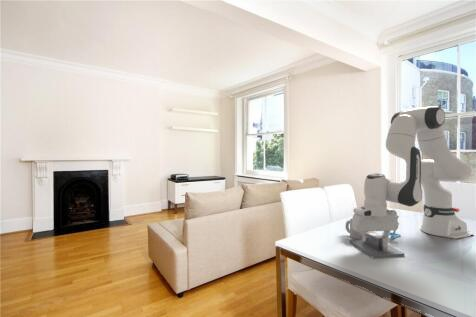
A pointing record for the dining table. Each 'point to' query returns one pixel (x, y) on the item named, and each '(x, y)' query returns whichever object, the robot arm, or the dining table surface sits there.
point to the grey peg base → (372, 252)
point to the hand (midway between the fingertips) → (375, 240)
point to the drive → (374, 240)
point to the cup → (353, 231)
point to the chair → (394, 232)
